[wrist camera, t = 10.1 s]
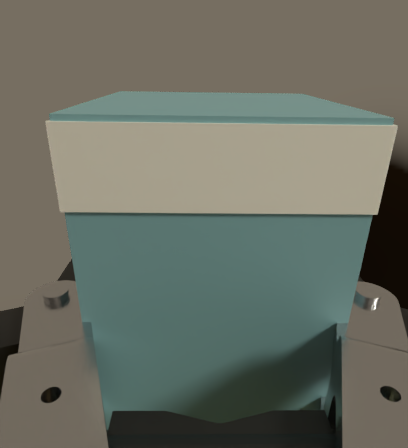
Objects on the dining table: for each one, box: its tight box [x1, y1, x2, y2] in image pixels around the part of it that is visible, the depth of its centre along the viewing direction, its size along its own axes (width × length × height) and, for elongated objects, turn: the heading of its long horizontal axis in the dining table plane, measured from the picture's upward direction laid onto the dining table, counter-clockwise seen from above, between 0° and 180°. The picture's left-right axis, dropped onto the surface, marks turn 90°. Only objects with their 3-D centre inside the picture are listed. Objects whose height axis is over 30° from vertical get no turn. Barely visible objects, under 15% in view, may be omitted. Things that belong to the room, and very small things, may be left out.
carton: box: [45, 91, 398, 430], centre depth 10 cm, size 5×5×11 cm
